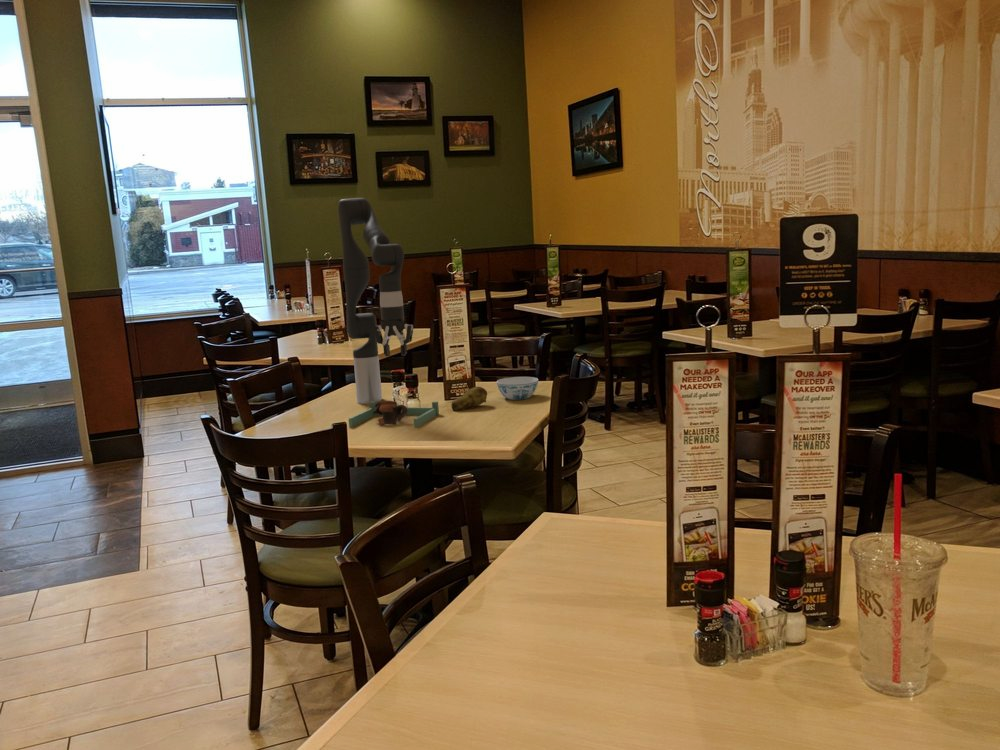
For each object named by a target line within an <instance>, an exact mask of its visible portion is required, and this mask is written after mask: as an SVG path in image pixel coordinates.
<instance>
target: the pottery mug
mask: <svg viewBox="0 0 1000 750" xmlns="http://www.w3.org/2000/svg"><path fill="white" fill-rule="evenodd" d="M397 404H398V403H397V402H396V401H393V400H386V401H380V402H376V404H375V409H374V412H373V414H375V413H376V414H379V415H378V416H382V417H380V418H378V419H377V421H378V425H379V426H383V425H384V426H385V425H397V422H401V420H403V418H404V417H405V416H407V415H406V413H407V408H406V407H407V406H406V405H404V404H398V405H397ZM402 409H403V411H402V413H401V410H402Z"/></svg>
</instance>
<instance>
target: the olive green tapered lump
mask: <svg viewBox="0 0 1000 750" xmlns="http://www.w3.org/2000/svg"><path fill="white" fill-rule="evenodd" d="M487 398H488V392H487V389H486V388H484V387H482V386H473V387H472V388H470V389H468V390H466V392H465V393H463V394H462V395H461V396H459V397H457V398H455V399H454V400H453V401H452V402H451V404H450V405H451V409H452V410H453V411H454V412H457V411H458V412H459V411H465V410H471V409H474V408H476V407H478V406H479V405H482V404H483V403H487Z"/></svg>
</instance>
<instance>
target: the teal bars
mask: <svg viewBox="0 0 1000 750" xmlns="http://www.w3.org/2000/svg"><path fill="white" fill-rule="evenodd" d="M375 404H377V402H376V401H372V402H370V404H369V408H368V409H365V410H364V411H362V412H359V413H358V414H355V415H353V416H351V417H349V418H348V428H353V427H354V428H355V427H356V426H357V425H359V424H360V423H363V422H365V421H366V420H368V419H371V418H372V417H374V416H380V415H379V414H376V413H375V414H373V412H374V409H375ZM406 408H407V413H406V415H405V416H417V417H415V418H413V427H414V428H419V427H420V426H422V425H424V424H425V423H427V422H428V421H430V420H432V419H433V418H435V417H436V416H438V415H439V414H440V413H439V401H433V402H431V407H421V406H420V407H411V406H410V407H407V406H406ZM402 411H403V409H402V410H401V413H402Z"/></svg>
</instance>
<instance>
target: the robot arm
mask: <svg viewBox="0 0 1000 750" xmlns="http://www.w3.org/2000/svg"><path fill="white" fill-rule="evenodd" d="M337 205H338V206H337V215H338V223H339V231H340V238H341V247H342V267H343V279H344V280H343V281H344V288H345V301H346V302H345V303H346V304H345V307H346V311H345V313H346V332H347V337H348V338H349V339H350V340H351V339H352V340H359V339H361V340H362V339H367V341H366V342H365V343H364V344H363V345H360V346H357V348H354V349H353V351H352V357H353V367H354V369H353V370H354V378H355V379H354V380H355V390H356V393H355V394H356V402H357V404H362V405H363V404H364V405H368V404H369V405H370V402H372V401H376V403H379V402H383V396H382V395H383V393H382V382H381V372H380V371H381V370H380V361H379V360H380V359H379V358H380V357H379V350H378V349H379V347H378V345H379V344H380V345H382V346H383V355H384V356H385V357H390V356H391V351H390V350H391V349H390V344H389V343H390V339H391V337H393V336H394V337H397V339H398V341H399V343H400V355H401V357H406V355H407V354H408V349H407V348H408V346H407V345H408V343H411V342H412V341H413V333H414V324H408V323H406V321H405V312H404V311H405V310H404V299H403V293H402V282H401V279H402V278H401V277H402V269H403V264H404V259H405V250H404V248H403V246H401V244H399V243H391V242H390V238H389V237H388V235H387V234H386V233H385V231H384V230H383V229H382V228H381V226H380V224H379V221H378V219H377V216H376V214H375V212H374V210H373V208H372V206H371V204H370V201H369V200H367V198H364V197H352V198H342V199H340V200H339V201H338V204H337ZM358 225H365V226H364V228H363V231H362V237H363V240H364V242H365V244H366V245H367V246H368V248H369V250H370V253H371V260H372V263H373V264H374V265H375V266H377V267H388V266H389V267H391V268H390V270H389V271H388V272H386V273H381V274H380V275H379V277H378V283H379V306H380V307H379V308H380V317H381V318H380V319H381V323H380V325H379V324H377V323H378V322H377V318H376V315H375V314H374V313H373V312H365V313H364V312H363V313H356V311H357V305H358V302H359V301H360V298H361V297H362V294H363V293H364V291H365V290H366V289H367V286H368V284H369V282H370V278H371V276H370V275H371V274H370V261H369V259H368V257H367V255H366V254H365V252H364V251H363V250H362V248H361V247H360V246H359V244H358V243H357V241H356V239H355V238H354V234H353V231H352V226H358ZM404 329H405V331H406V334H405V333H404ZM382 330H383V331H384V333H383V334H382Z"/></svg>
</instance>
